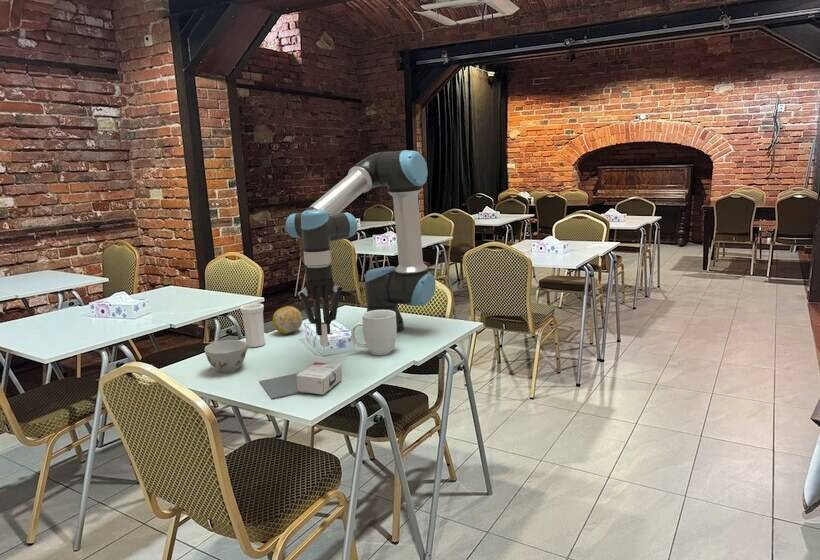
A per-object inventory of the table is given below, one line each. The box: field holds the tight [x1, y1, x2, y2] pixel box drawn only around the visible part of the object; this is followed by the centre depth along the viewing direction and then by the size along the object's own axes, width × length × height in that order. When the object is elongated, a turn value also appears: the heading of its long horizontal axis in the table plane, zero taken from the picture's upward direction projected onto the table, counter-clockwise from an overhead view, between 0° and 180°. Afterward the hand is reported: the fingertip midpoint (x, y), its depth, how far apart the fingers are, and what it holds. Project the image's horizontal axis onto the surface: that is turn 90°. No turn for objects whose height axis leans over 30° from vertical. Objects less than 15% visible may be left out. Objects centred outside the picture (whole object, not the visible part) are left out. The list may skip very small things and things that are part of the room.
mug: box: [351, 310, 398, 356], centre depth 189 cm, size 15×11×13 cm
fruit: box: [272, 305, 303, 335], centre depth 216 cm, size 10×11×10 cm
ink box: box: [296, 361, 343, 395], centre depth 162 cm, size 9×5×12 cm
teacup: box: [204, 339, 249, 374], centre depth 181 cm, size 15×12×8 cm
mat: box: [259, 372, 306, 400], centre depth 166 cm, size 18×15×1 cm
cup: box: [239, 303, 266, 348], centre depth 203 cm, size 8×8×14 cm
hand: (324, 345), depth 168 cm, fingers closed
